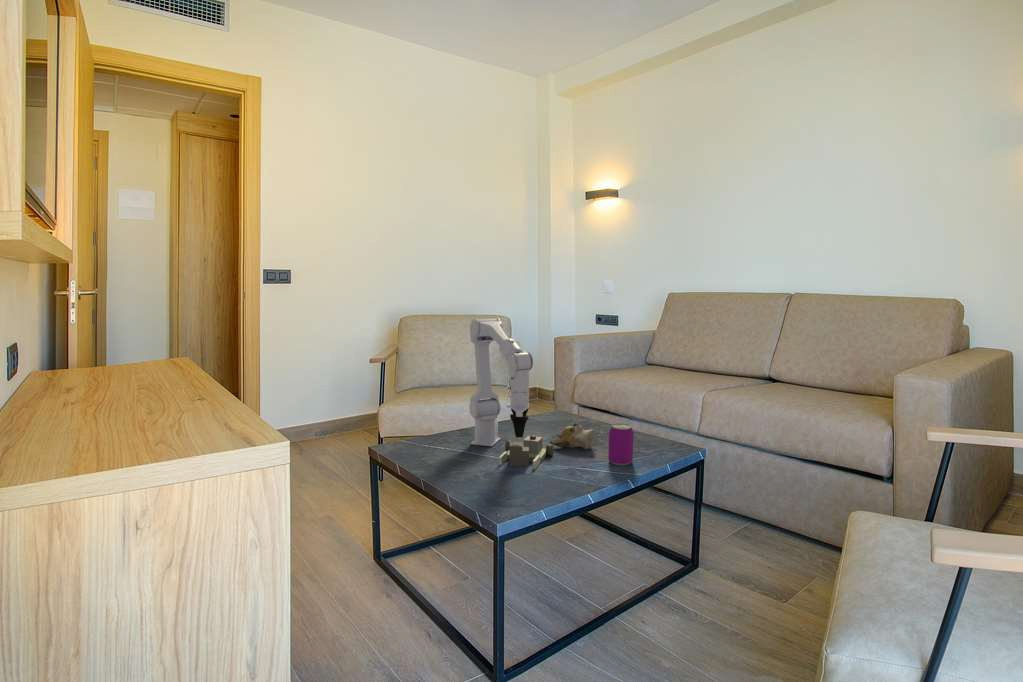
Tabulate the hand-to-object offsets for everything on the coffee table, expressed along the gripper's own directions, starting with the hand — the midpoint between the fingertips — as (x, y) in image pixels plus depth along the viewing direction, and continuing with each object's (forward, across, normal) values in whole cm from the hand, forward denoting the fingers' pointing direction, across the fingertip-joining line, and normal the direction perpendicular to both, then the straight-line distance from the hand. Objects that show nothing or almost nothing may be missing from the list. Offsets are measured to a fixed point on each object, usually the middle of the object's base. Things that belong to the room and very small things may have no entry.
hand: (519, 433), depth 179 cm
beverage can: (+10, -3, +32) cm, 34 cm away
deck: (+10, -5, +2) cm, 11 cm away
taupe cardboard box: (+10, 0, 0) cm, 10 cm away
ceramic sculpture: (+10, -18, +19) cm, 28 cm away
